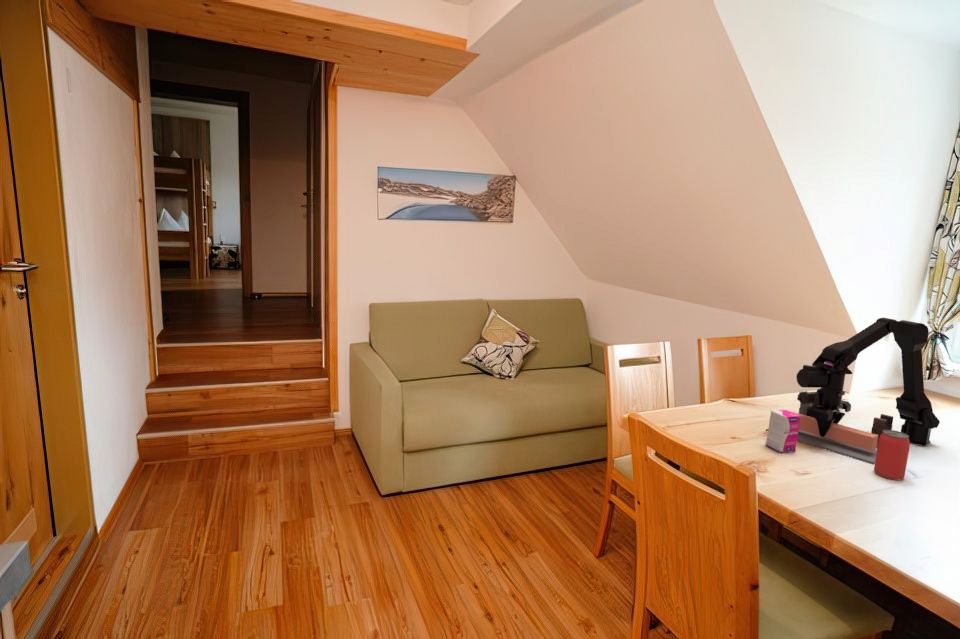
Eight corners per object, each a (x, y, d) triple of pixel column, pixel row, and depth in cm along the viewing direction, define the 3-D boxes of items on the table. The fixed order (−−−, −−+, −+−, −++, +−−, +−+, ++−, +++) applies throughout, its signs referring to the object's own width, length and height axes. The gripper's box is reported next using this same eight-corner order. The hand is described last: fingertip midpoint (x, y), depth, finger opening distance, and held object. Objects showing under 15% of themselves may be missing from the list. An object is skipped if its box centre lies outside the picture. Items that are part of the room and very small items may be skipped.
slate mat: (887, 455, 157) (888, 453, 157) (873, 464, 150) (873, 462, 150) (782, 424, 181) (782, 422, 181) (765, 431, 174) (765, 429, 174)
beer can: (874, 467, 148) (881, 427, 146) (904, 475, 144) (911, 433, 142) (872, 475, 143) (879, 433, 141) (903, 483, 138) (911, 440, 137)
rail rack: (898, 445, 166) (902, 417, 164) (887, 451, 160) (892, 423, 158) (802, 418, 188) (805, 394, 186) (789, 423, 182) (792, 398, 180)
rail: (876, 447, 156) (878, 435, 155) (871, 450, 154) (873, 437, 153) (784, 421, 176) (785, 410, 176) (778, 423, 174) (780, 412, 173)
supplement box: (780, 453, 155) (785, 416, 153) (764, 446, 161) (769, 410, 159) (796, 452, 157) (801, 415, 155) (780, 444, 162) (785, 409, 160)
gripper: (816, 377, 174) (809, 422, 177) (790, 385, 163) (784, 432, 166) (855, 385, 166) (847, 432, 168) (830, 394, 155) (823, 444, 157)
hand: (824, 435), depth 165 cm, fingers closed on rail, 4 cm apart
